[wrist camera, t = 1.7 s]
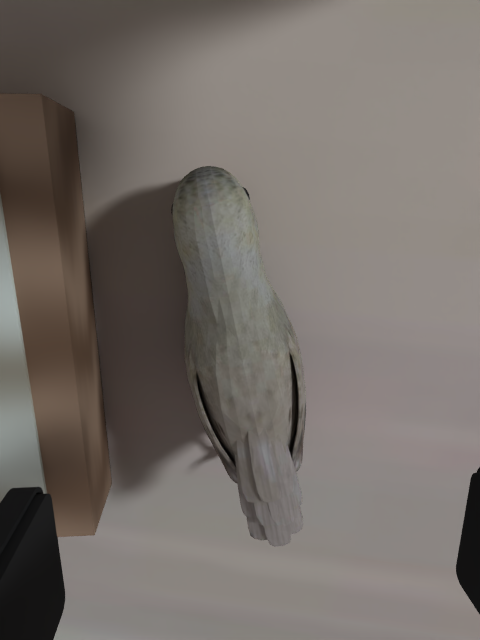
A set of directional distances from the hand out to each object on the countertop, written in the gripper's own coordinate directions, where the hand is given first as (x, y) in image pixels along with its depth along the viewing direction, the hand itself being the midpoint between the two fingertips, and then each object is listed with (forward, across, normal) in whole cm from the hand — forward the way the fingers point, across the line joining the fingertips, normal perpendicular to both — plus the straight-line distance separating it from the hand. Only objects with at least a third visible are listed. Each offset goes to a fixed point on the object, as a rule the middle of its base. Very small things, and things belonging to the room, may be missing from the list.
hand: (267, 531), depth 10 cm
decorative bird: (+15, 0, 0) cm, 15 cm away
